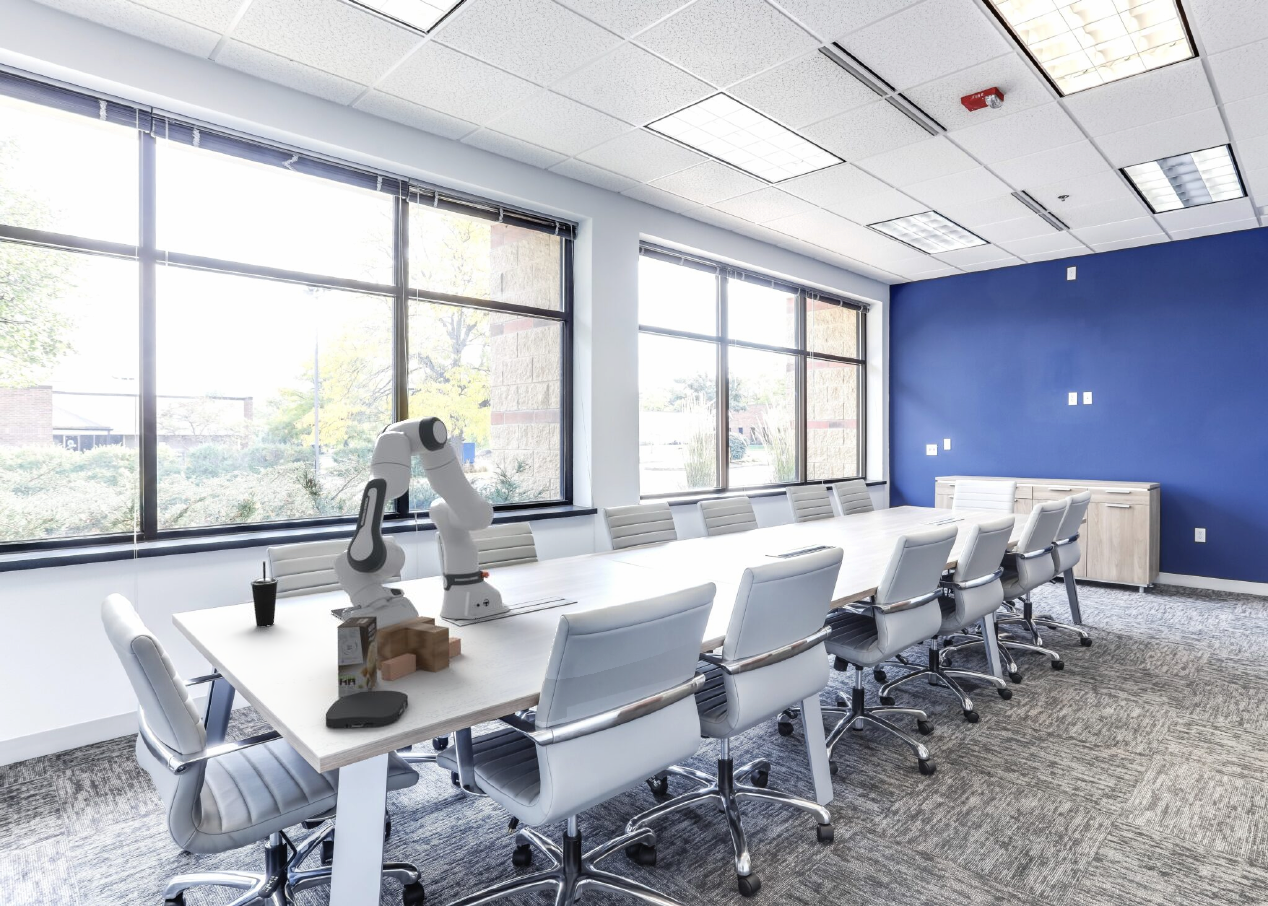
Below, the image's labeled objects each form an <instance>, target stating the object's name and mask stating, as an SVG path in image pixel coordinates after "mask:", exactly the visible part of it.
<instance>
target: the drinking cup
mask: <svg viewBox="0 0 1268 906" xmlns="http://www.w3.org/2000/svg"><path fill="white" fill-rule="evenodd" d="M266 572H267V571H266V561H262V577H261V578H258V579H256V580H253V581H251V582H250V585H251V590H252V597H253V598H252V599H253V606H254V616H255V622H256V623H255V624H256V627H258V626H265V627H268V626H267V625H271V626H273V625H274V624H275V616H276V615H275V614H276V602H277V591H278V583H279V580H278V579H276V578H272V577H267V576H266ZM273 623H274V624H273ZM272 624H273V625H272Z"/></svg>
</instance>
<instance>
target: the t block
mask: <svg viewBox="0 0 1268 906" xmlns="http://www.w3.org/2000/svg"><path fill="white" fill-rule="evenodd" d="M449 638H450V628H449V627H446V626H441V625H436V619H435V618H434V617H428V616H422V615H419V617H417V618H414V619H410V620H407V621H404V622H400V623H397V624H394V625H390V626H387V627H384V628H380V629H377V670H381V671H382V662H384V661H387V660H390V659H392V658H395V657H398V656H401V655H404V654H407V653H408V654H413V655H416V670H422V671H426V672H431V673H437V672H440V671H442V670H445V669H447V668H449V667H450V658H449Z"/></svg>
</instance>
